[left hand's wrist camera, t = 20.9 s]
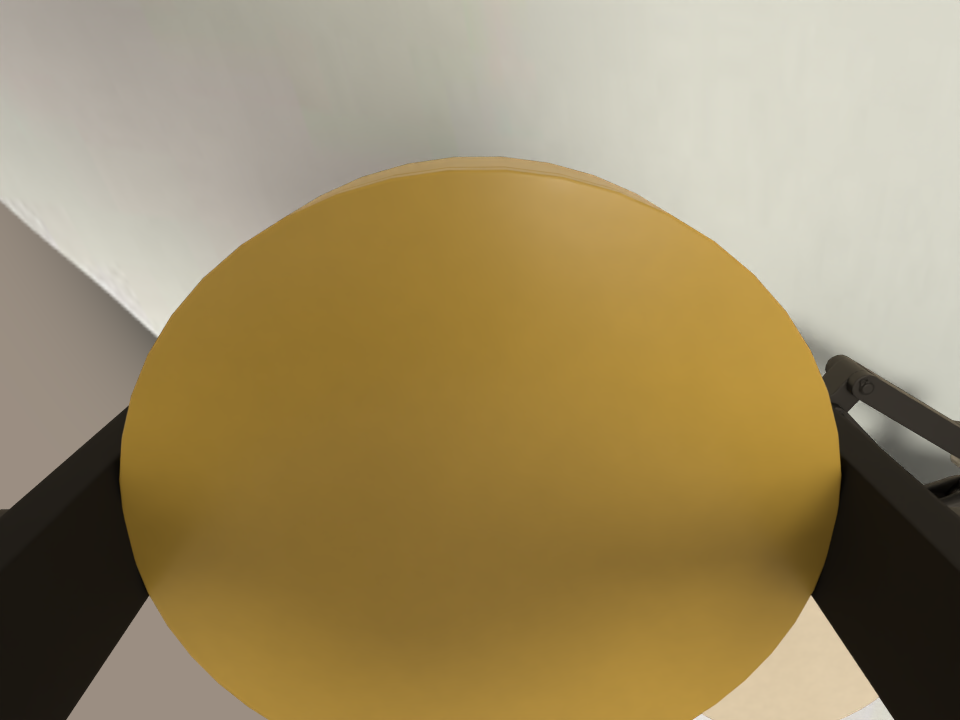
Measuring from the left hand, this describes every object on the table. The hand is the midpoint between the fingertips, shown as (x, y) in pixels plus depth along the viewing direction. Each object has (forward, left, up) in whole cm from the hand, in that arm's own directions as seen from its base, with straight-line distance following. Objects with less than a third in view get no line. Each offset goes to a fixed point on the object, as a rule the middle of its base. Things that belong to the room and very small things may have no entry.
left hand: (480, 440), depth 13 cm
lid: (0, 0, +3) cm, 3 cm away
